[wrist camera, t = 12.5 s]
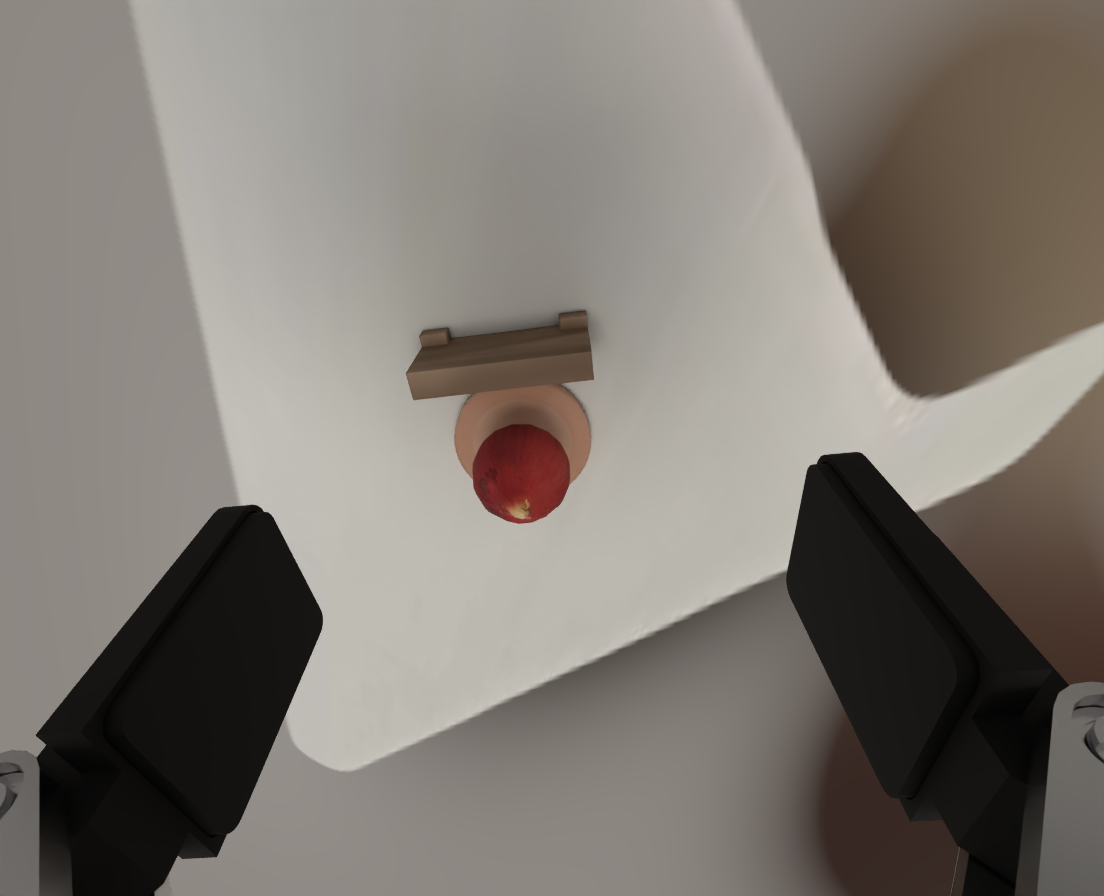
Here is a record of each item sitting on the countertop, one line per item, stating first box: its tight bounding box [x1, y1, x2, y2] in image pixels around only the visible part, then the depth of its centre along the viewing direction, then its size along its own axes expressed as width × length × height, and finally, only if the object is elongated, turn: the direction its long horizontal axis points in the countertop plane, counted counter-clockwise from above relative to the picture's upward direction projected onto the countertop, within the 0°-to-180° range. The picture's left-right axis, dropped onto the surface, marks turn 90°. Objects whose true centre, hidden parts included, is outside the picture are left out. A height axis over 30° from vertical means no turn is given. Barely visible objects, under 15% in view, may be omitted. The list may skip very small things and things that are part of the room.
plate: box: [454, 384, 591, 484], centre depth 36 cm, size 9×9×1 cm
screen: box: [406, 311, 594, 400], centre depth 31 cm, size 3×10×5 cm, turn 97°
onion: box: [472, 424, 570, 524], centre depth 32 cm, size 6×6×8 cm
